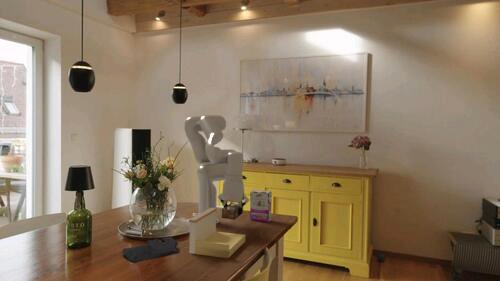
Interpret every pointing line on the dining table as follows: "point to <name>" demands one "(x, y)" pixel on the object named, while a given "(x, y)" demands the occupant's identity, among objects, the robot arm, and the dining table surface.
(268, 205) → the candy bar box
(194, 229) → the counter shelf
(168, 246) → the dark slate chunk
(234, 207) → the caddy
